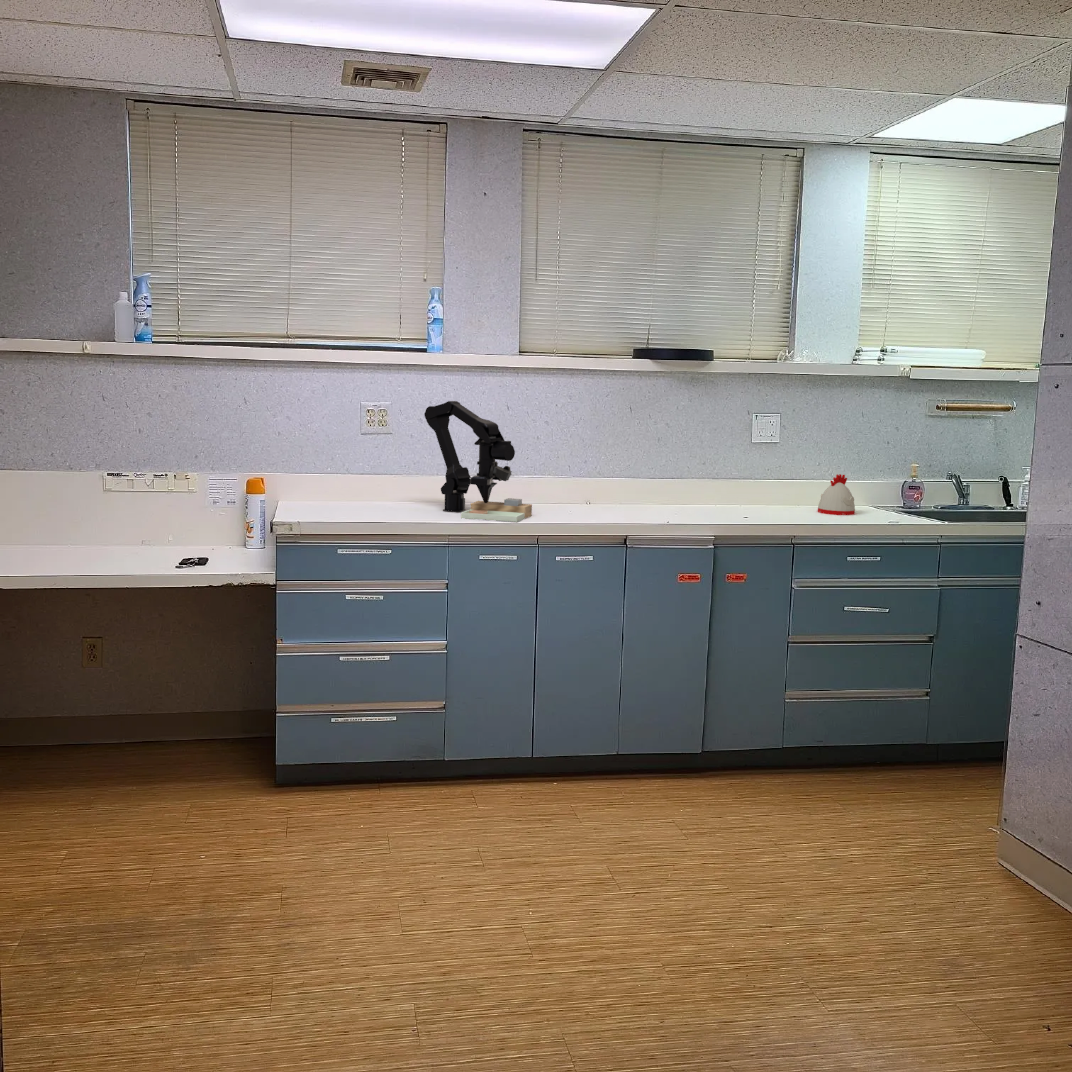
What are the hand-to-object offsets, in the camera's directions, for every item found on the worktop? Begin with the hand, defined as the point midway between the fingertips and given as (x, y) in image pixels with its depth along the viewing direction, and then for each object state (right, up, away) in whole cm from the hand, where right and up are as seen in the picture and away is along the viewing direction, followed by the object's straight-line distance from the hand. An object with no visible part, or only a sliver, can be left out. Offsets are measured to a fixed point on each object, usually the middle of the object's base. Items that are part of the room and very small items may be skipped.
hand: (486, 502), depth 377 cm
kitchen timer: (+134, -3, +39) cm, 140 cm away
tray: (+3, -6, -6) cm, 9 cm away
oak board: (+5, -4, +3) cm, 7 cm away
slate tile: (+9, -1, +1) cm, 10 cm away
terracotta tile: (-2, -3, -6) cm, 7 cm away
